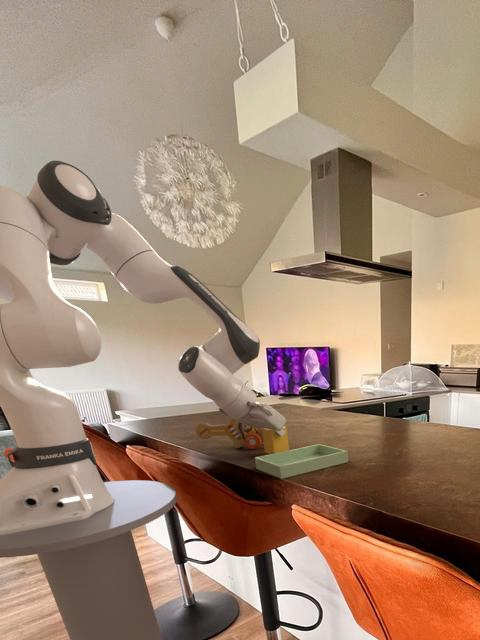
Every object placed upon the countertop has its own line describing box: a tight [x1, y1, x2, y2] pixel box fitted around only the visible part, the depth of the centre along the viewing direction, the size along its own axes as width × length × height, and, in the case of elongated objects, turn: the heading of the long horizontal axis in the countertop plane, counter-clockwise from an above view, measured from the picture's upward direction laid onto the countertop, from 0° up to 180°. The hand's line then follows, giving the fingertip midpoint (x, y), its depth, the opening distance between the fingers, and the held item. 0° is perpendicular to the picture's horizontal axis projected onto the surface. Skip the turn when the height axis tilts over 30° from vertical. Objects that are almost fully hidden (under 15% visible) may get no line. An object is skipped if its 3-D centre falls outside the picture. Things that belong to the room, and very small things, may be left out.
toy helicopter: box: [195, 414, 264, 450], centre depth 130 cm, size 8×21×14 cm, turn 94°
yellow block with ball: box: [262, 426, 290, 455], centre depth 119 cm, size 5×5×11 cm
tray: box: [254, 443, 349, 480], centre depth 109 cm, size 20×13×3 cm
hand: (276, 433), depth 119 cm, fingers closed on yellow block with ball, 5 cm apart
